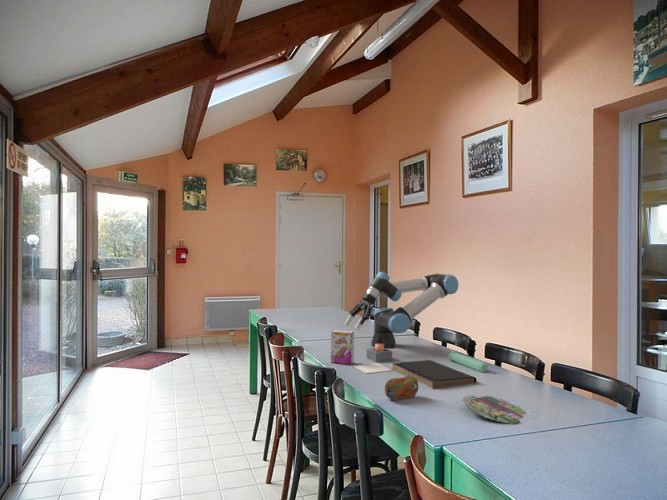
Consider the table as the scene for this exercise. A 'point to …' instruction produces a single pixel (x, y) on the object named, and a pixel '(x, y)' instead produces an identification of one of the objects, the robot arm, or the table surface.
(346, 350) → the candy bar box
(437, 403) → the table surface
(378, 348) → the button
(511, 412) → the city model
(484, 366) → the container
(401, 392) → the tin
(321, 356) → the table surface
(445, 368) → the dark brown book
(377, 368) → the paper sheet
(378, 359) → the button housing
